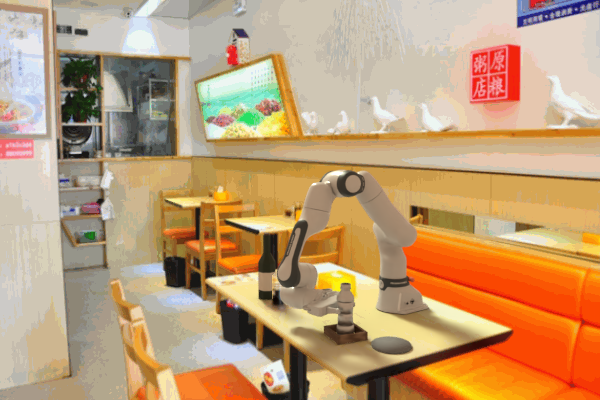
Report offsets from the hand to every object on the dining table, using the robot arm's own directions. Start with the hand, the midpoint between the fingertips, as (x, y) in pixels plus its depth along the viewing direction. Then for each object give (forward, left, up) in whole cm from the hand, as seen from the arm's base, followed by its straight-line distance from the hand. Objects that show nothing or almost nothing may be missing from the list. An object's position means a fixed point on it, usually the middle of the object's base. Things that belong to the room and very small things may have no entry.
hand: (347, 308), depth 196 cm
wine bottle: (+11, -58, -11) cm, 60 cm away
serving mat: (-11, +13, -11) cm, 20 cm away
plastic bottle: (0, -1, -11) cm, 11 cm away
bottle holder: (0, -1, -11) cm, 11 cm away
